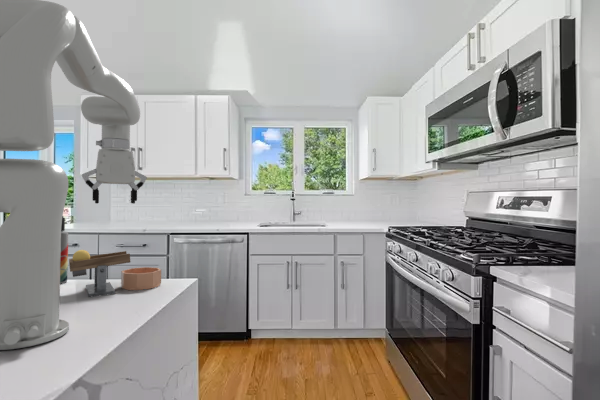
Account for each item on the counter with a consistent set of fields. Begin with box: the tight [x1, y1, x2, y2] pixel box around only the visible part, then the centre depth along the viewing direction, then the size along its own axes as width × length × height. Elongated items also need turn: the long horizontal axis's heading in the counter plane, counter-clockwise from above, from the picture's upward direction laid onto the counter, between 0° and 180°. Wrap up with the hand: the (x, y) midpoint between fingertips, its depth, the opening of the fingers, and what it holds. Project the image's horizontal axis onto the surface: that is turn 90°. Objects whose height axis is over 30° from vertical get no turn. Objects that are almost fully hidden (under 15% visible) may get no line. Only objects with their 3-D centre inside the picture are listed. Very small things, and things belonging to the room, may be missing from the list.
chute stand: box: [85, 265, 116, 298], centre depth 96 cm, size 12×6×8 cm, turn 35°
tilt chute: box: [68, 250, 131, 278], centre depth 99 cm, size 15×14×4 cm
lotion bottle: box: [60, 215, 69, 285], centre depth 104 cm, size 6×6×20 cm
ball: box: [72, 249, 91, 261], centre depth 93 cm, size 4×4×4 cm
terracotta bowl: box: [120, 266, 162, 291], centre depth 102 cm, size 10×10×4 cm
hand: (115, 203), depth 105 cm, fingers open, 9 cm apart
